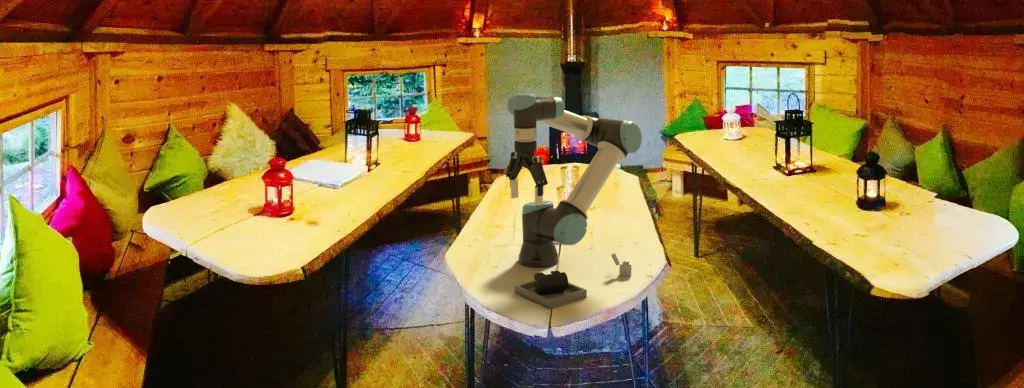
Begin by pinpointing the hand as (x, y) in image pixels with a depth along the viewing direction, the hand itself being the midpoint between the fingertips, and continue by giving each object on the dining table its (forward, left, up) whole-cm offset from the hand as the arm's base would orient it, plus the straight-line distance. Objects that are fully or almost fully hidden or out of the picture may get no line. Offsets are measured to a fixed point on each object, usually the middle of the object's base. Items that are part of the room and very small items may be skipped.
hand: (526, 201), depth 244 cm
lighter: (+17, +29, -29) cm, 44 cm away
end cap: (+16, -3, -28) cm, 32 cm away
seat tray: (+16, -3, -29) cm, 33 cm away
